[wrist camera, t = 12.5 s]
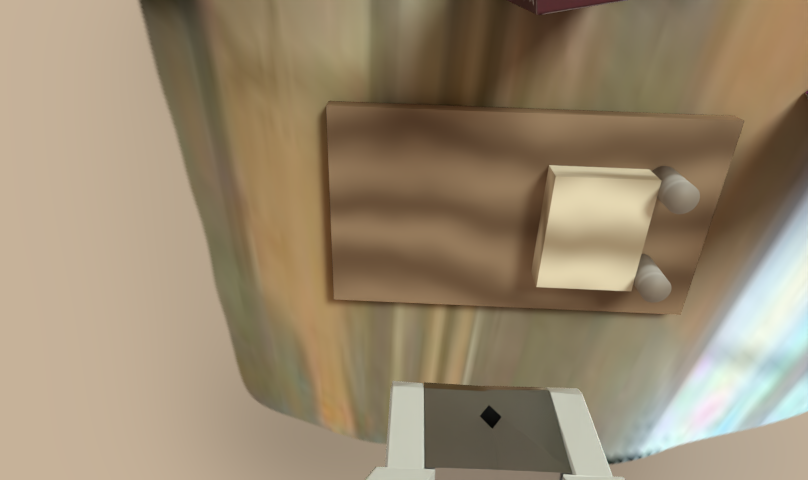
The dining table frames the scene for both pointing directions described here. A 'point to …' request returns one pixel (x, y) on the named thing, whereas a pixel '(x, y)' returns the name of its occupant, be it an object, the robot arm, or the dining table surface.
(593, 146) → the board
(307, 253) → the dining table surface
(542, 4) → the supplement box
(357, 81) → the dining table surface
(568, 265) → the birch plate
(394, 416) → the robot arm
